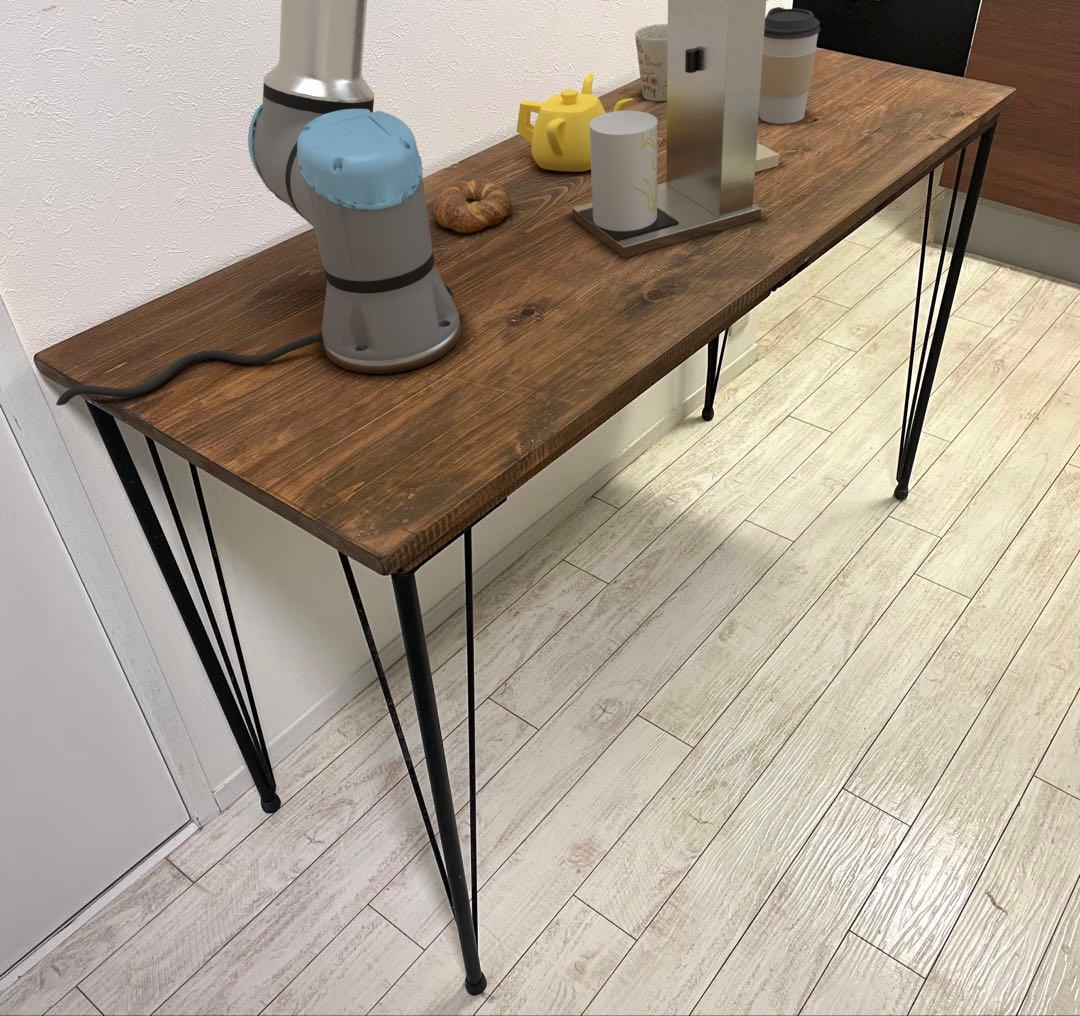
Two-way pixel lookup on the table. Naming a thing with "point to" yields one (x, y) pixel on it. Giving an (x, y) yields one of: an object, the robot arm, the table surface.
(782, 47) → the coffee cup
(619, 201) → the cup
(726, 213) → the coffee machine
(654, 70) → the mug
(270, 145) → the robot arm
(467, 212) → the pretzel
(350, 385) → the table surface
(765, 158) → the cream triangular wedge
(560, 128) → the teapot
